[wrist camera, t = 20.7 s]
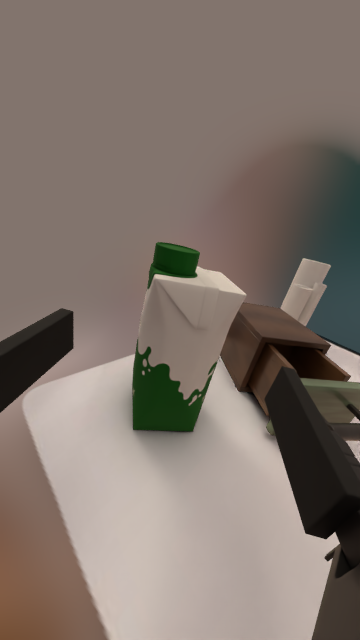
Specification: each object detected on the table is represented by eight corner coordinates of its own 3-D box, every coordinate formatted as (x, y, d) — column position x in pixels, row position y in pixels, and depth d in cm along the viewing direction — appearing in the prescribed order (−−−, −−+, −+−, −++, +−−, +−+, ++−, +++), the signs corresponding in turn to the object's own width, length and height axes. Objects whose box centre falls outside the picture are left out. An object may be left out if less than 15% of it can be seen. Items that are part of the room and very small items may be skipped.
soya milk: (130, 380, 31) (151, 236, 22) (190, 385, 32) (230, 253, 24) (123, 437, 23) (151, 249, 14) (202, 439, 25) (268, 273, 16)
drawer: (368, 470, 25) (418, 422, 21) (291, 473, 22) (332, 419, 19) (285, 373, 39) (305, 335, 36) (233, 368, 37) (250, 327, 34)
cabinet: (300, 395, 36) (331, 345, 32) (238, 391, 34) (262, 336, 29) (262, 348, 48) (280, 308, 44) (214, 343, 46) (228, 299, 41)
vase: (272, 321, 66) (301, 257, 58) (296, 329, 64) (329, 264, 56) (272, 334, 57) (306, 260, 48) (300, 344, 55) (341, 269, 46)
